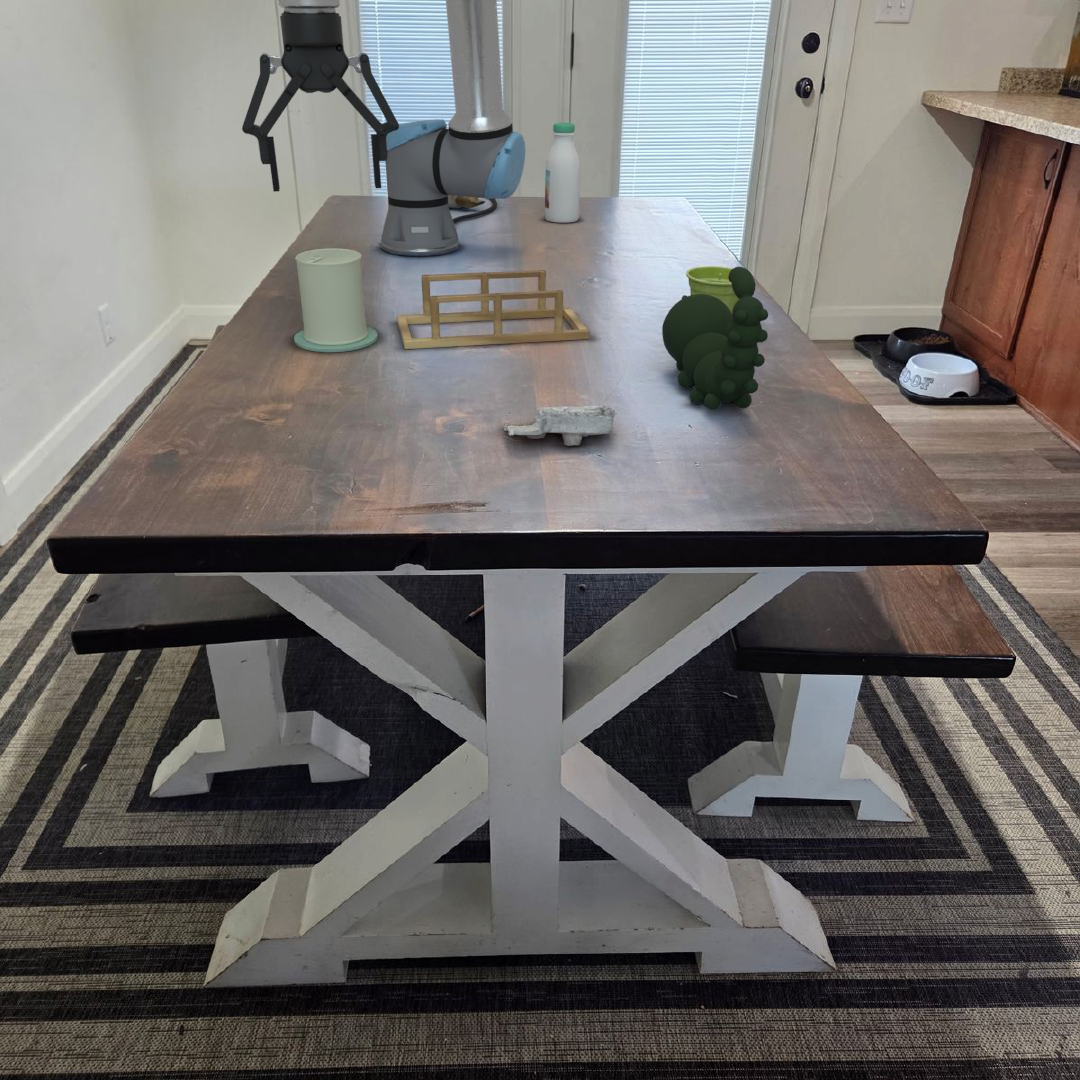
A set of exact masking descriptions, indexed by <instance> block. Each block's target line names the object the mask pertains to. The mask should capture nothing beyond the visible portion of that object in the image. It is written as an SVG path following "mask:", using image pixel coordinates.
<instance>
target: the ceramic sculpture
mask: <svg viewBox="0 0 1080 1080" xmlns="http://www.w3.org/2000/svg"><path fill="white" fill-rule="evenodd" d="M484 204H486V201H485V200H481V199H480V198H477V197H466V196H453V195H448V206H449V209H461V208H465V209H472V208H476V207H479V206H481V205H484Z"/></svg>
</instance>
